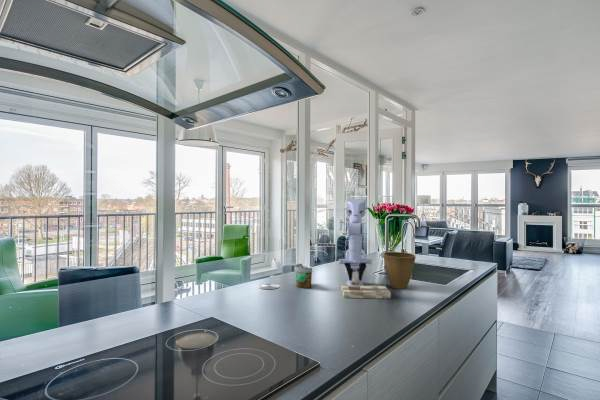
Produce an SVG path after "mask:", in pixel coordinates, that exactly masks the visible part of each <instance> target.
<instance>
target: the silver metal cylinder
mask: <svg viewBox="0 0 600 400" xmlns="http://www.w3.org/2000/svg"><path fill="white" fill-rule="evenodd" d="M351 285H360V268H351Z"/></svg>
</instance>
